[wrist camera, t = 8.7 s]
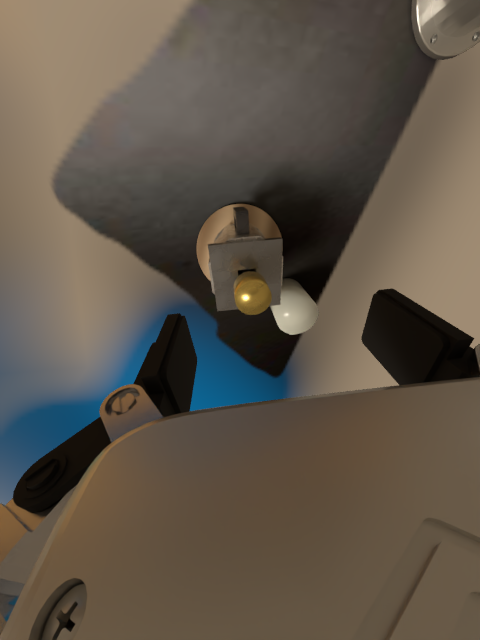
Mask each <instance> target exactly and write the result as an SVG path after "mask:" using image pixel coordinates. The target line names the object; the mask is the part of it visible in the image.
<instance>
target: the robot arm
mask: <svg viewBox="0 0 480 640" xmlns="http://www.w3.org/2000/svg"><path fill="white" fill-rule="evenodd" d="M412 26H413V32H414V35H415V39H416V42H417V44H418V45H419V47H420V49H421V50H422V51H423V52H424V53H425V54H426V55H427V56H429V57H431V58H434V59H440V60H444V59H449V58H453V57H455V56H457V55H459V54H461V53H463V52H465V51H467V50H468V49H470V48H472V47H473V46H474V45H476V44H477V43H478V42H479V41H480V0H412ZM473 339H474V338H473V337H471V336H469V335H468V334H466V333H464V332H463V331H461V330H459V329H458V328H456V327H455V326H453V325H451V324H450V323H448V322H446V321H445V320H443V319H442V318H440V317H438V316H437V315H435V314H433V313H432V312H430V311H428V310H427V309H425V308H424V307H422V306H420V305H418V304H417V303H415V302H414V301H412V300H411V299H409V298H407V297H406V296H404V295H402V294H401V293H399V292H397V291H396V290H394V289H384V290H379V291H377V292H376V294H374V295H373V298H372V302H371V305H370V309H369V312H368V316H367V320H366V323H365V327H364V330H363V334H362V342H363V344H364V345H365V346H366V347H367V348H368V350H369V351H370V352H371V353H372V354H373V355H374V357H375V358H376V359H377V360H378V361H379V362H380V363H381V364H382V366H383V367H384V368H385V369H386V370H387V371H388V372H389V373H390V375H391V376H392V377H393V378H394V379H395V380H396V382H397V383H398V384H399V386H390V387H382V388H372V389H363V390H355V391H346V392H338V393H329V394H320V395H312V396H304V397H296V398H287V399H279V400H271V401H262V402H255V403H246V404H238V405H231V406H224V407H217V408H209V409H202V410H196V411H190V404H191V398H192V391H193V385H194V379H195V372H196V366H197V356H196V353H195V349H194V346H193V342H192V339H191V335H190V332H189V328H188V325H187V321H186V318H185V316H181V314H170V315H168V316H167V318H166V320H165V322H164V324H163V327H162V329H161V331H160V334H159V336H158V338H157V340H156V342H155V343H153V344H152V345H151V347H150V349H149V351H148V353H147V356H146V358H145V360H144V362H143V364H142V366H141V369H140V371H139V373H138V375H137V377H136V380H135V382H134V384H130V385H126V386H122V387H120V388H118V389H116V390H115V391H113V392H112V393H111V394H109V395H108V396H107V397H106V398H105V400H104V401H103V403H102V404H101V407H100V416H101V417H99V418H98V419H96V420H95V421H93V422H92V423H91V424H89V425H88V426H86V427H85V428H84V429H82V430H81V431H79V432H78V433H76V434H75V435H73V436H72V437H71V438H69V439H68V440H66V441H65V442H63V443H62V444H60V445H59V446H58V447H57V448H55V449H53V450H52V451H50V452H49V453H48V454H46V455H45V456H43V457H42V458H40V459H39V460H38V461H37V462H36V463H34V464H33V465H32V466H31V467H30V468H29V469H28V470H27V471H26V472H25V473H24V475H23V476H22V477H21V479H20V480H19V482H18V483H17V486H16V488H15V490H14V494H13V498H12V500H10V501H9V502H8V503H7V504H6V505H3V504H0V640H480V344H478V345H477V346H476V347H475V348H474V349H473V348H471V347H470V344H471V343H472V341H473ZM189 411H190V412H189Z"/></svg>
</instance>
